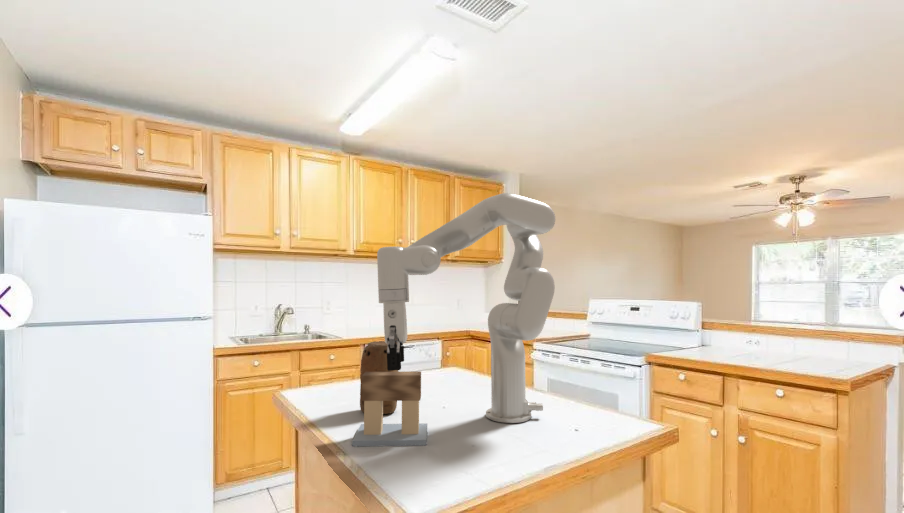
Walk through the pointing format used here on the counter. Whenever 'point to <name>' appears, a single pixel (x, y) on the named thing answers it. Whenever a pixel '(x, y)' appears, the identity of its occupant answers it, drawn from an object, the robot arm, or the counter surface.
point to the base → (390, 427)
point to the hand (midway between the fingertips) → (396, 365)
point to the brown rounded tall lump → (376, 369)
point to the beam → (391, 386)
